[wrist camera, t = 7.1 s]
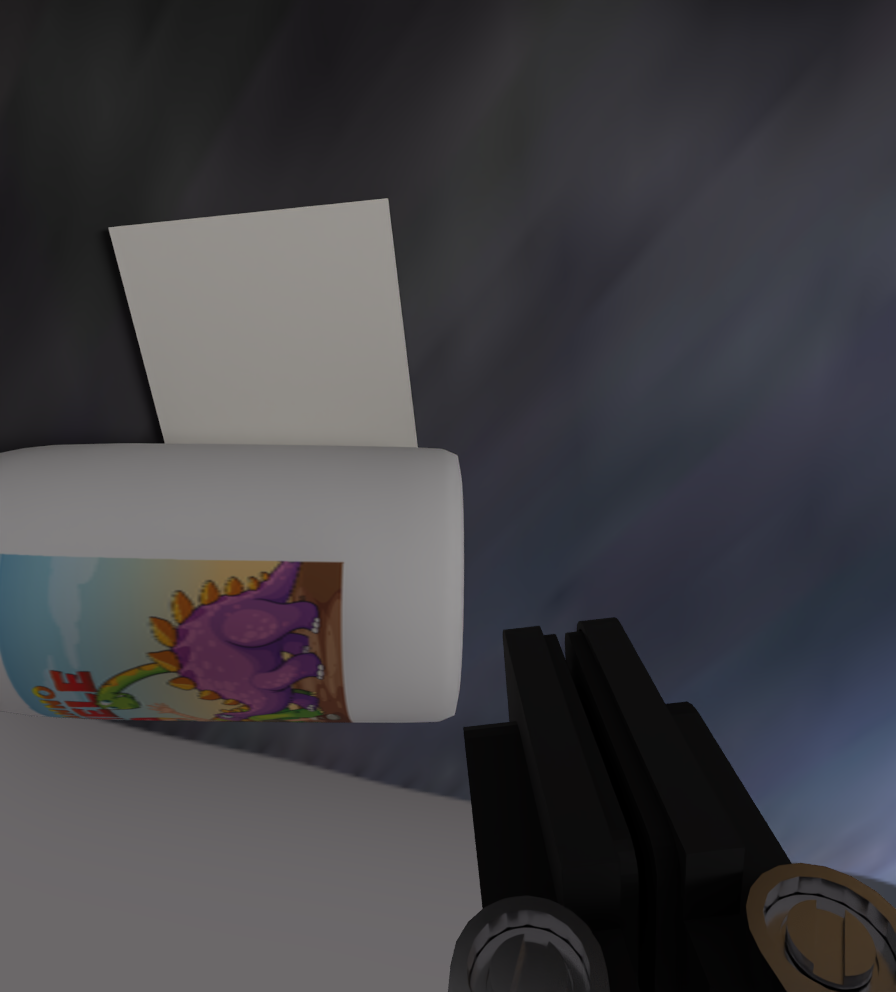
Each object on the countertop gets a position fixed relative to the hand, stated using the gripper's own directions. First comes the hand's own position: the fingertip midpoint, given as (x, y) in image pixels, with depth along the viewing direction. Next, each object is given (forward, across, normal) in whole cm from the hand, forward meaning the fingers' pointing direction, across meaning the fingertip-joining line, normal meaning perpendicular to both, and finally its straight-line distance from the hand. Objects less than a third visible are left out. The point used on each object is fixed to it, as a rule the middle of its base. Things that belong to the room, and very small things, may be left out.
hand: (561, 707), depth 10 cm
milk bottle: (+9, +1, +2) cm, 9 cm away
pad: (+13, +6, 0) cm, 14 cm away
